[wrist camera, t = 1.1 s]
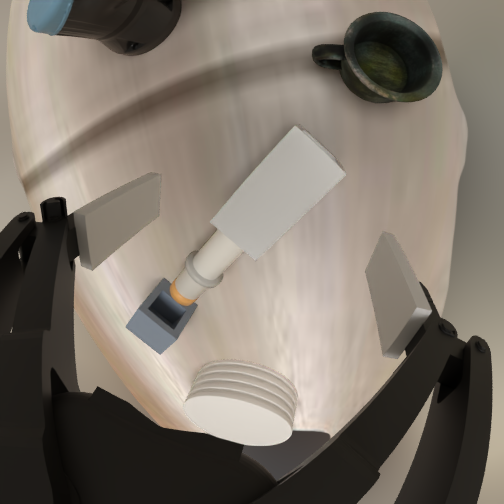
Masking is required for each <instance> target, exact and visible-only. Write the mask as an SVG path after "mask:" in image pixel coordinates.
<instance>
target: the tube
mask: <svg viewBox="0 0 504 504" xmlns="http://www.w3.org/2000/svg"><path fill="white" fill-rule="evenodd" d="M243 252H244V251H243V250H242V249H241V248H240V247H238V246H237V245H236V244H235V243H234V242H233V241H231V240H230V239H229V238H228V237H227V236H226V235H224V234H223V233H222V232H221V231H220V230H219V229H217V231H216V232H215V233H214V234H213V235H212V236H211V237H210V239H209V240H208V241H207V242H206V243H205V245H204V246H203V247H202V248H201V249H200V250H199V251H193V252H191V253H190V255H189V256H188V257H187V258H186V261H185V268H184V270H183V271H182V272H181V273H180V274H179V276H178V277H177V278H176V279H175V280H174V281H173V283H172V284H171V285H170V294H171V296H172V298H173V299H174V300H175V301H176V302H177V303H179V304H181V305H184V306H189V305H191V304H193V303H194V302H195V301H196V300H197V299H198V298H199V296H200V295H201V294H202V293H203V292H204V291H205V290H206V289H207V288H213V287H216V286H217V285H218V284H219V283H220V282H221V281H222V279H223V272H224V271H225V270H226V269H227V268H228V267H229V266H230V265H231V264H232V263H233V262H234V261H235V260H236V259H237V258H238V257H239V256H240V255H241V254H242V253H243Z"/></svg>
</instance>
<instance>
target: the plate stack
mask: <svg viewBox="0 0 504 504" xmlns="http://www.w3.org/2000/svg"><path fill="white" fill-rule="evenodd" d="M297 397H298V395H297V390H296V388H295V386H294V385H293V384H292V382H291V381H290V380H289V379H288V378H286V377H285V376H284V375H282V374H281V373H279V372H277V371H275V370H273V369H271V368H269V367H266V366H264V365H261V364H258V363H254V362H250V361H244V360H236V359H223V360H216V361H212V362H209V363H207V364H205V365H204V366H203V367H202V368H201V369H200V370H199V372H198V374H197V377H196V379H195V381H194V384H193V385H192V387H191V390H190V392H189V394H188V396H187V399H186V400H185V403H184V405H183V410H184V413H185V415H186V416H187V417H188V419H189V420H190V421H191V422H192V423H194V424H195V425H196V426H197V427H199V428H200V429H202V430H204V431H205V432H207V433H209V434H211V435H213V436H216V437H218V438H222V439H225V440H229V441H232V442H236V443H240V444H244V445H253V446H268V445H274V444H278V443H282V442H284V441H286V440H287V439H288V438H289V437H290V436H291V434H292V429H293V423H294V417H295V410H296V402H297Z"/></svg>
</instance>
